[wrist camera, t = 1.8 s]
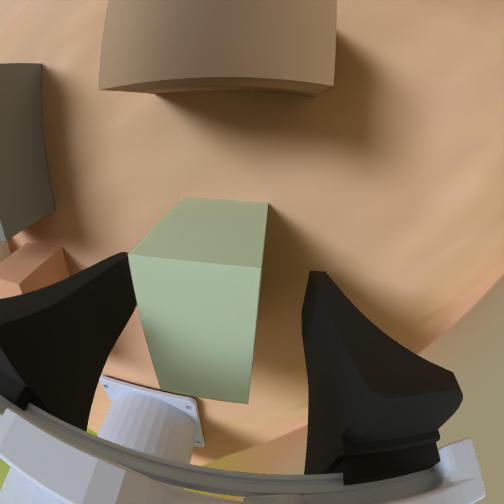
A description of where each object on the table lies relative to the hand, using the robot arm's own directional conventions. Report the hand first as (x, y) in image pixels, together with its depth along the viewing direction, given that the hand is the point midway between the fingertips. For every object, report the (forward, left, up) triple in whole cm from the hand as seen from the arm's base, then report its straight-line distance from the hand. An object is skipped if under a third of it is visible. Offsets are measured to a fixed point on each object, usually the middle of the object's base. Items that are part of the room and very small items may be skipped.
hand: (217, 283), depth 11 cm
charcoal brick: (+6, +12, -2) cm, 14 cm away
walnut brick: (+9, 0, -2) cm, 9 cm away
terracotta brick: (-3, +11, -2) cm, 12 cm away
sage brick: (0, 0, -2) cm, 2 cm away
